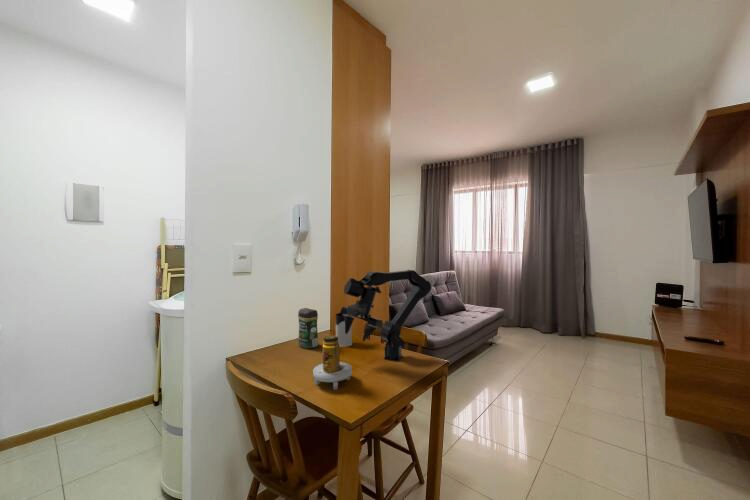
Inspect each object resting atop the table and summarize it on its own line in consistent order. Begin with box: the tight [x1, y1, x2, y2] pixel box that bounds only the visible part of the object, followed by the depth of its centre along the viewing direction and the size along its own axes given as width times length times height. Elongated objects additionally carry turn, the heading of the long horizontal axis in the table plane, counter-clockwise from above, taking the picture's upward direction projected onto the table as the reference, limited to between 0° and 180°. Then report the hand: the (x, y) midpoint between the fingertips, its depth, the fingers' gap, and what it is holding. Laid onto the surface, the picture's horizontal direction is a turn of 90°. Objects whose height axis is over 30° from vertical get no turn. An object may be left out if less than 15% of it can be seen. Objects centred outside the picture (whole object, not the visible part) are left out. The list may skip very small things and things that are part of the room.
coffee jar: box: [297, 307, 319, 350], centre depth 146 cm, size 10×8×19 cm
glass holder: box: [335, 312, 353, 348], centre depth 151 cm, size 9×14×15 cm, turn 22°
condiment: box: [319, 334, 346, 374], centre depth 108 cm, size 7×8×12 cm
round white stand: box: [312, 361, 353, 391], centre depth 108 cm, size 14×14×4 cm
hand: (354, 337), depth 121 cm, fingers open, 9 cm apart
